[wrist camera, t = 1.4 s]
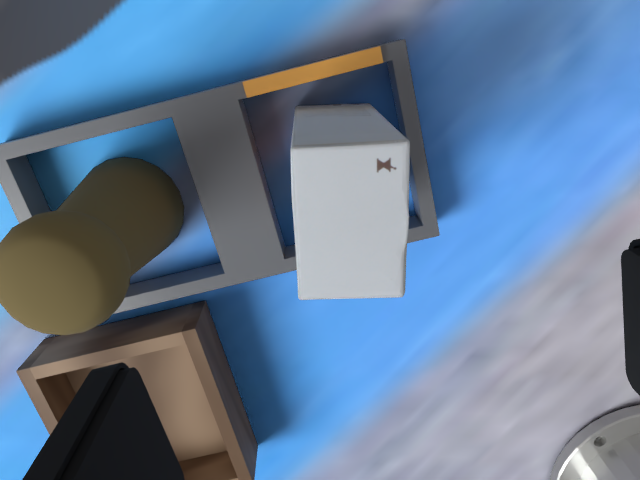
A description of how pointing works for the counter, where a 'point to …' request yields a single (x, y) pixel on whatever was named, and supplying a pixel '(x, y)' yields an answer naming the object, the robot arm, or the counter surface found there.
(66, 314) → the cork
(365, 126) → the skincare box
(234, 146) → the slot holder
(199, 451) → the tray
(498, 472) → the counter surface
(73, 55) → the counter surface
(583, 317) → the counter surface
